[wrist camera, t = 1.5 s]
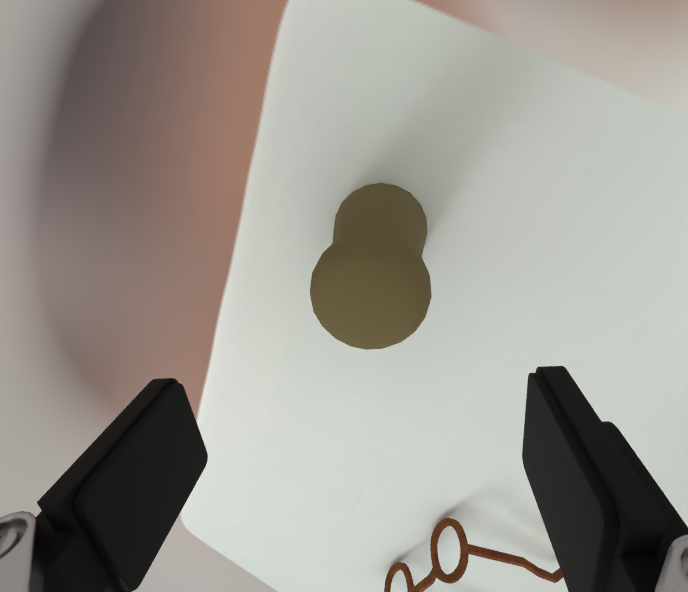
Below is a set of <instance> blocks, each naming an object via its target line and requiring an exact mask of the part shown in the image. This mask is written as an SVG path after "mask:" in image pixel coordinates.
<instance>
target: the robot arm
mask: <svg viewBox="0 0 688 592" xmlns="http://www.w3.org/2000/svg"><path fill="white" fill-rule="evenodd" d="M207 458H208V455H207V451H206V448H205V445H204V442H203V439H202V437H201V434H200V431H199V428H198V426H197V423H196V420H195V417H194V414H193V412H192V409H191V406H190V403H189V401H188V398H187V395H186V392H185V389H184V387H183V385H182V384H180V383H178V381H177V380H176V379H173V378H168V379H154V380H152V381H151V382H149V384H148V385H147V386H146V387H145V388H144V389H143V390H142V391H141V392H140V393H139V394H138V395H137V396H136V398H135V399H134V400H133V401H132V402H131V403H130V404H129V405H128V406H127V407H126V408H125V409H124V410H123V411H122V412H121V414H119V416H118V417H117V418H116V419H115V420H114V421H113V422H112V423H111V424H110V425H109V426H108V427H107V428H106V429H105V430H104V431H103V433H102V434H101V435H100V436H99V437H98V438H97V439H96V440H95V441H94V442H93V443H92V444H91V445H90V446H89V447H88V449H87V450H86V451H85V452H84V453H83V454H82V455H81V456H80V457H79V458H78V459H77V460H76V461H75V462H74V463H73V464H72V466H71V467H70V468H69V469H68V470H67V471H66V472H65V473H64V474H63V475H62V476H61V477H60V478H59V480H58V481H57V482H56V483H55V484H54V485H53V486H52V487H51V488H50V489H49V490H48V491H47V492H46V493H45V495H43V496H42V497H41V499H40V500H39V501H38V502H37V503H38V505H39V506H40V508H41V510H42V511H41V512H40V514H39V515H38V516H37V517H35V516H34V515H33V514H32V513H30V512H24V511H21V512H16V513H11V514H8V515H6V516H3V517H1V518H0V592H132V591H134V590H136V589H137V588H138V587H139V585H140V584H141V582H142V580H143V578H144V577H145V575H146V573H147V571H148V569H149V567H150V566H151V564H152V562H153V560H154V559H155V557H156V555H157V553H158V551H159V550H160V548H161V546H162V544H163V542H164V540H165V538H166V537H167V535H168V533H169V531H170V529H171V527H172V526H173V524H174V522H175V521H176V519H177V517H178V515H179V513H180V512H181V510H182V508H183V506H184V504H185V502H186V501H187V499H188V497H189V495H190V493H191V492H192V490H193V488H194V486H195V484H196V483H197V481H198V479H199V477H200V475H201V474H202V472H203V470H204V468H205V466H206V464H207ZM522 458H523V464H524V468H525V472H526V474H527V477H528V480H529V483H530V485H531V488H532V491H533V494H534V497H535V499H536V502H537V505H538V508H539V510H540V513H541V516H542V519H543V522H544V524H545V527H546V530H547V533H548V535H549V538H550V541H551V544H552V547H553V549H554V552H555V555H556V558H557V560H558V563H559V566H560V569H561V572H562V574H563V577H564V580H565V583H566V585H567V588H568V591H569V592H688V527H687V526H686V524H685V523H684V521H683V520H682V518H681V517H680V516H679V514H678V513H677V511H676V510H675V509H674V507H673V506H672V504H671V503H670V502H669V500H668V499H667V497H666V496H665V494H664V493H663V492H662V490H661V489H660V487H659V486H658V485H657V483H656V482H655V480H654V479H653V477H652V476H651V475H650V473H649V472H648V470H647V469H646V468H645V466H644V465H643V463H642V462H641V460H640V459H639V458H638V456H637V455H636V453H635V452H634V451H633V449H632V448H631V446H630V445H629V444H628V442H627V441H626V439H625V438H624V436H623V435H622V434H621V432H620V431H619V429H618V428H617V427H616V426H615V425H614V424H613V423H611V422H601V420H600V419H599V417H598V416H597V414H596V413H595V411H594V410H593V408H592V407H591V405H590V404H589V402H588V401H587V399H586V398H585V396H584V395H583V393H582V392H581V390H580V389H579V387H578V386H577V384H576V383H575V381H574V380H573V378H572V377H571V375H570V374H569V372H568V371H567V369H566V368H565V367H563V366H549V367H538V368H537V369H536V373H530V374H529V376H528V386H527V399H526V412H525V425H524V438H523V451H522Z"/></svg>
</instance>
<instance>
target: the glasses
mask: <svg viewBox="0 0 688 592" xmlns="http://www.w3.org/2000/svg"><path fill="white" fill-rule="evenodd" d="M447 526H452V527H453V528H454V529H455V531H456V533H457V535H458V538H459V542H460V548H461V554H460V560H459V564H458V566H457V568H456V569H455V570H454V572H452V573H451V574H448V575H447V574H445V573H444V572H443V571H442V569H441V567H440V564H439V560H438V553H437V543H438V539H439V536H440V534H441V532H442V531H443V530H444V528H446V527H447ZM430 546H431V559H432V565H433V568H432V570H431V572H430V574H429V575H428V576H427V577H425V578H424V579H423V580H422V581H421V582H419V583H418V584H417V585H416V586H414V584H413V580H412V576H411V573H410V570H409V568H408V566H407V565H406V564H405V563H401V562H397V563H395V564H394V565H393V566H392V567H391V568H390V570H389V572H388V574H387V577H386V581H385V589H384V592H390V588H391V582H392V579H393V576H394V575H395V573H396V572H397V571H398V570H402V571H403V572H404V575H405V578H406V582H407V588H408V592H423V591H424V590H426V589H427V588H428V587H429V586H431V585H432V584H433V583H434V581H435V579H436V577H437V578H438V579H439V580H441V581H443V582H445V583H455V582H456V581H458V580H459V579H460V578H461V577H462V575H463V574H464V572H465V570H466V567H467V563H468V556H469V555H468V554H471V555H476V556H480V557H484V558H488V559H492V560H496V561H501V562H505V563H509V564H513V565H517V566H522V567H524V568H526V569H527V570H529V571H531V572H532V573H534V574H535V575H537V576H538V577H541V578H543V579H546V580H549V581H551V582H554V583H556V582H558V581H559V580H560V579H562V578H563V574H562V572H561V569H560V568H559V569H558V570H557V571H555V572H554V573H553V574H552V573H549V572H547V571H545V570H543V569H540V568H538V567H537V566H535V565H534V564H532V563H531V562H529V561H528V560H526V559H524V558H523V557H518V556H514V555H510V554H506V553H502V552H498V551H494V550H490V549H486V548H482V547H478V546H474V545H470V544H468V543H467V539H466V535H465V532H464V530H463V528H462V526H461V525H460V523H459V522H458V521H456V520H455V519H451V518H445V519H443V520H441V521H440V522H439V523H438V524H437V525H436V527H435V529H434V531H433V533H432V537H431V544H430Z"/></svg>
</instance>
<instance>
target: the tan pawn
mask: <svg viewBox="0 0 688 592" xmlns="http://www.w3.org/2000/svg"><path fill="white" fill-rule="evenodd" d="M426 236H427V221H426V216H425V214H424V212H423V209H422V207H421V205H420V204H419V202H418V201H417V200H416V199H415V198H414V197H413V196H412V195H411V194H410V193H409V192H407V191H405V190H403V189H402V188H400V187H398V186H395V185H389V184H384V183H379V184H372V185H366V186H364V187H362V188H360V189H358V190H356V191H354V192H352V193H351V194H350V195H349V196H348V197H347V198H346V199H345V200H344V201H343V202H342V204H341V206H340V208H339V210H338V212H337V214H336V218H335V225H334V233H333V244H332V245H331V246H330V247H329V248H328V249H327V250H326V251H325V252H323V254H322V255H321V257H320V259H319V261H318V263H317V265H316V267H315V269H314V271H313V273H312V279H311V286H310V296H311V301H312V305H313V310H314V313H315V315H316V316H317V318H318V320H319V321H320V323H321V325H322V326H323V327H324V328H325V329H326V330H327V331H328V332H329V333H330V334H331V335H332V336H334V337H335V338H336V339H338V340H340V341H342V342H344V343H345V344H347V345H349V346H352V347H357V348H362V349H382V348H385V347H388V346H391V345H394V344H397V343H400V342H402V341H403V340H404V339H406V338H407V337H409V336H410V335H411V334H413V333H414V332H415V331H416V329H417V328H418V327H419V325H420V324H421V322H422V321H423V320H424V318H425V316H426V313H427V310H428V307H429V303H430V300H431V284H430V276H429V273H428V270H427V268H426V266H425V264H424V261H423V259H422V252H423V248H424V244H425V240H426Z"/></svg>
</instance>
